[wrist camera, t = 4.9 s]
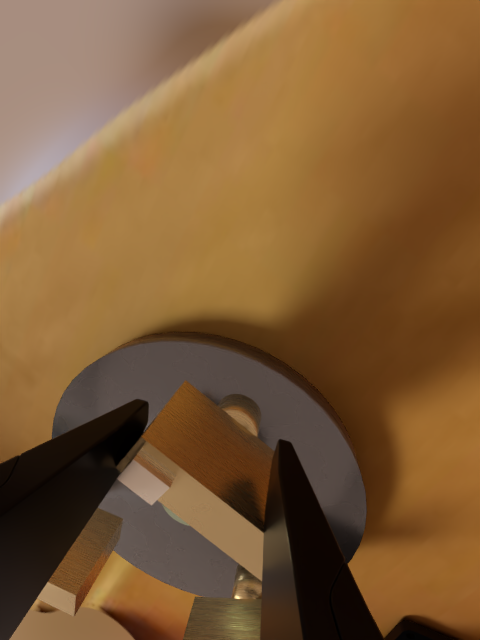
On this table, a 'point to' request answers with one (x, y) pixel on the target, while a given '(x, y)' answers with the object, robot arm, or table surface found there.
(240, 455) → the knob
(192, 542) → the plate
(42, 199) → the table surface
